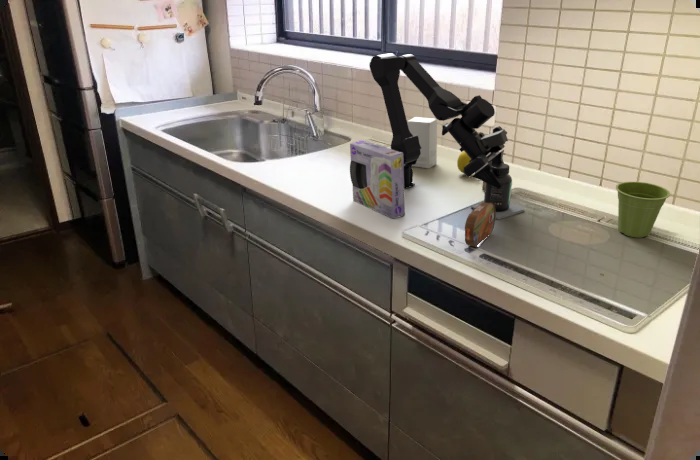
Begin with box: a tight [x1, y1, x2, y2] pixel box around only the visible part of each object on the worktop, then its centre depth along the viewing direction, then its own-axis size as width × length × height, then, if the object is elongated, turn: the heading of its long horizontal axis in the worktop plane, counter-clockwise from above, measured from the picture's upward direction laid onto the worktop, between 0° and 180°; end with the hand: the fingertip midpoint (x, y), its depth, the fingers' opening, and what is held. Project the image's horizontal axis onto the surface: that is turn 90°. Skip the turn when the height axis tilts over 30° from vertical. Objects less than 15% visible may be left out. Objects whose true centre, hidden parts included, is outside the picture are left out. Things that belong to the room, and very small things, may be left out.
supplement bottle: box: [483, 162, 513, 212], centre depth 157 cm, size 7×7×12 cm
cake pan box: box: [349, 139, 406, 219], centre depth 159 cm, size 19×5×18 cm, turn 36°
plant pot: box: [615, 181, 671, 239], centre depth 142 cm, size 12×12×11 cm
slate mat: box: [470, 202, 525, 220], centre depth 160 cm, size 10×10×1 cm
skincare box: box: [407, 116, 438, 170], centre depth 194 cm, size 8×7×16 cm
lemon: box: [456, 151, 471, 174], centre depth 186 cm, size 6×6×8 cm
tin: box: [464, 201, 496, 248], centre depth 141 cm, size 15×3×8 cm, turn 148°
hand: (504, 183), depth 156 cm, fingers open, 7 cm apart
